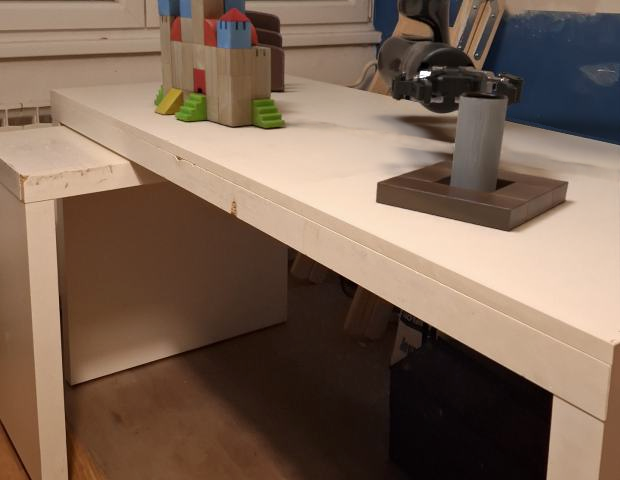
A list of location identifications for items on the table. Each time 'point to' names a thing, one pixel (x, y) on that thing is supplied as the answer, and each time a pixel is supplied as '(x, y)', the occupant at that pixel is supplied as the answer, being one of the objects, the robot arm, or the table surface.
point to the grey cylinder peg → (478, 141)
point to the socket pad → (473, 196)
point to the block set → (214, 65)
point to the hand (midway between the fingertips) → (469, 95)
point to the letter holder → (270, 44)
